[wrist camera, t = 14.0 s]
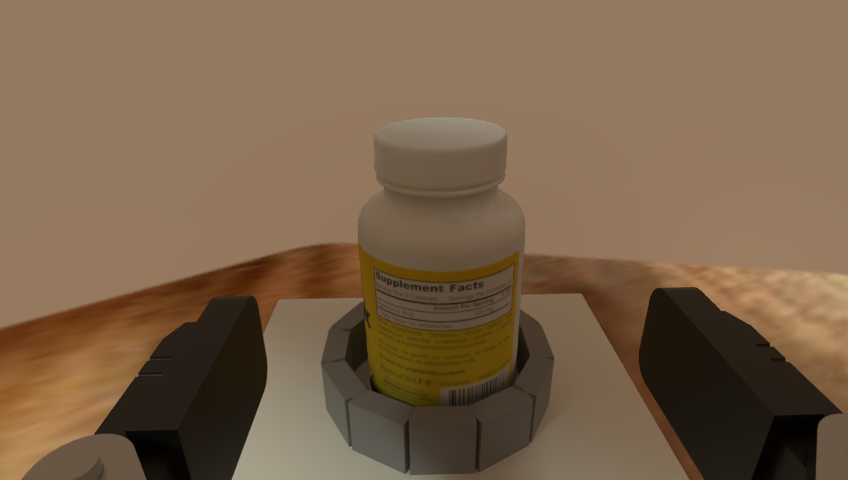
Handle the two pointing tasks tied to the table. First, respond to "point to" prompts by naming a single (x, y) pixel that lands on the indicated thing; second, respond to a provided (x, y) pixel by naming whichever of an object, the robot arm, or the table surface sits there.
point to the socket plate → (451, 407)
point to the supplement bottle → (441, 263)
